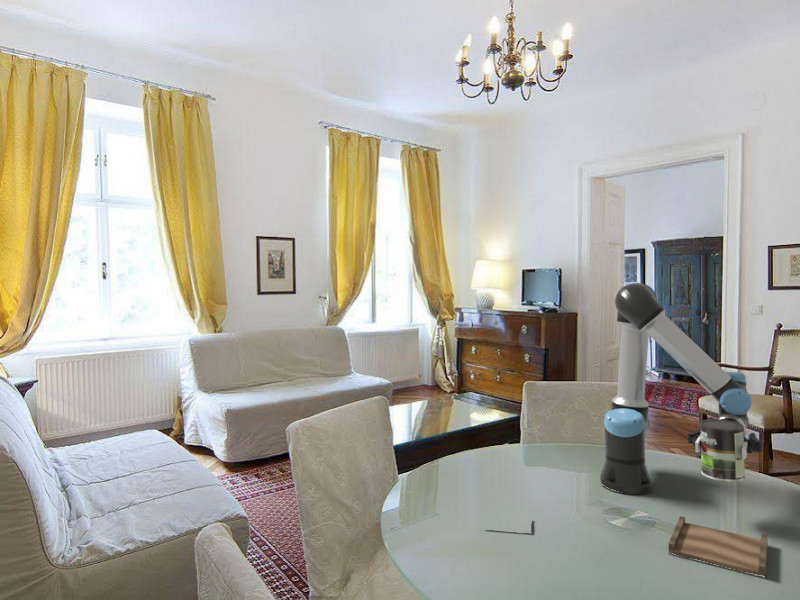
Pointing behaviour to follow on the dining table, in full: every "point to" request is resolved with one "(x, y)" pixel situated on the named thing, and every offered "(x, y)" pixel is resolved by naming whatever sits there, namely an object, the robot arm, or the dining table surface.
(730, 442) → the coffee can
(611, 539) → the dining table surface
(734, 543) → the cradle
